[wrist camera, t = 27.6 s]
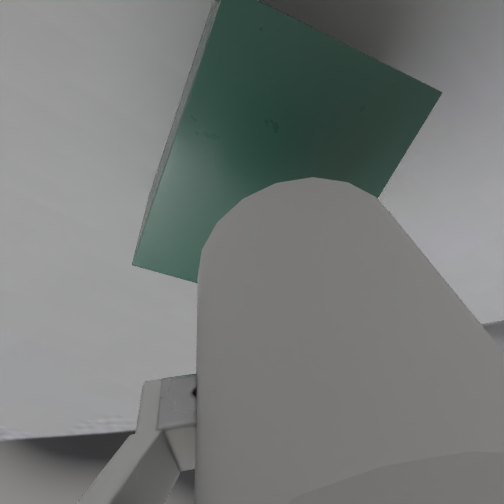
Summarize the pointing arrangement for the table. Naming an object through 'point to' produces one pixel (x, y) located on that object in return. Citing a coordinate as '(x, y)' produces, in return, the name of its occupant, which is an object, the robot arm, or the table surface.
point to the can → (338, 361)
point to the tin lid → (274, 126)
